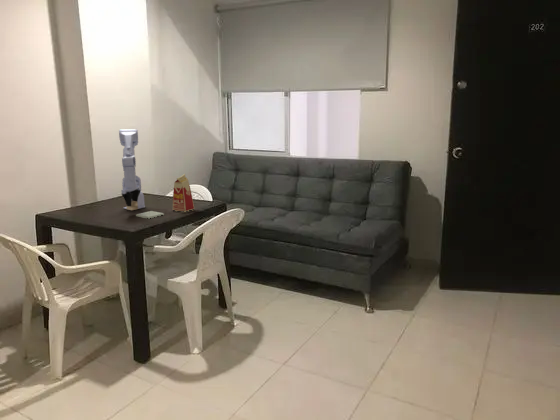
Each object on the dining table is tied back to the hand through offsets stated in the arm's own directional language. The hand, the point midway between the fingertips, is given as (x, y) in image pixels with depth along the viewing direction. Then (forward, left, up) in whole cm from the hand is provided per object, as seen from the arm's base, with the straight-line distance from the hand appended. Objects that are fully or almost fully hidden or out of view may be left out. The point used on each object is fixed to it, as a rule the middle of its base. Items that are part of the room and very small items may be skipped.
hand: (132, 205), depth 246 cm
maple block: (0, 0, -2) cm, 2 cm away
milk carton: (-23, +14, -6) cm, 27 cm away
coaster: (-4, +9, -5) cm, 11 cm away
